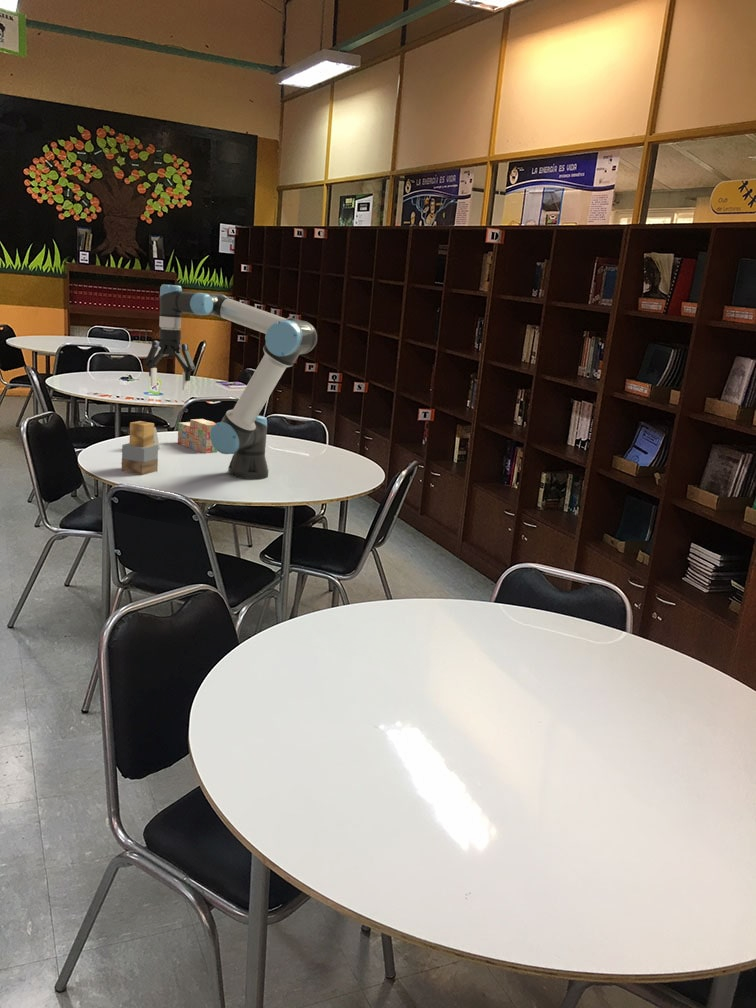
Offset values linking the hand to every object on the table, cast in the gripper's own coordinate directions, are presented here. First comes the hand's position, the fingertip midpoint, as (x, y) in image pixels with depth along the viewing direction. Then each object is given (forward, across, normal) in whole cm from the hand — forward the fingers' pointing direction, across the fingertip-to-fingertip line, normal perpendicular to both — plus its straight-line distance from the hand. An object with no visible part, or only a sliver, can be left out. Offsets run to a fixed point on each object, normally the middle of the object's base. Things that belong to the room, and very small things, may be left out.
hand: (169, 387), depth 303 cm
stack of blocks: (+30, +13, -41) cm, 52 cm away
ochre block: (+20, +5, +10) cm, 23 cm away
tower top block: (+25, +5, +11) cm, 28 cm away
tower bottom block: (+30, +5, +11) cm, 33 cm away
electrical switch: (+30, +25, -21) cm, 44 cm away
